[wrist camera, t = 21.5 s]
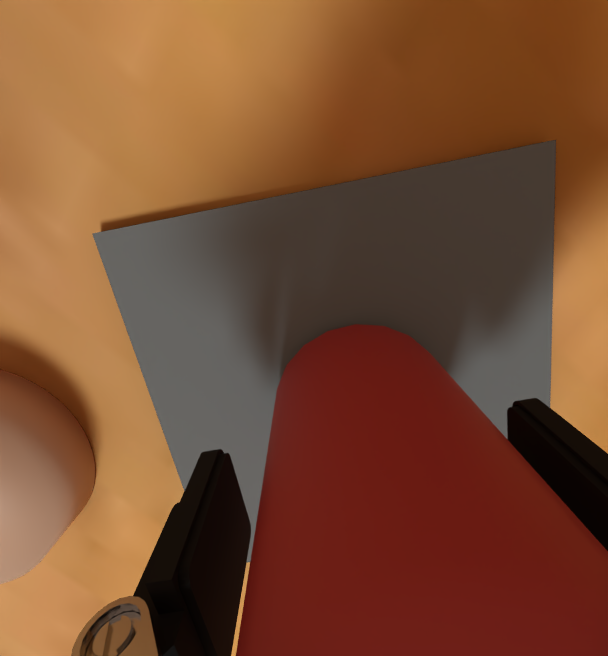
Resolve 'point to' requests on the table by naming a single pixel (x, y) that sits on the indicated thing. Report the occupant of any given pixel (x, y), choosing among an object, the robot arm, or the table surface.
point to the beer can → (409, 520)
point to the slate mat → (339, 293)
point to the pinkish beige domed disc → (38, 473)
